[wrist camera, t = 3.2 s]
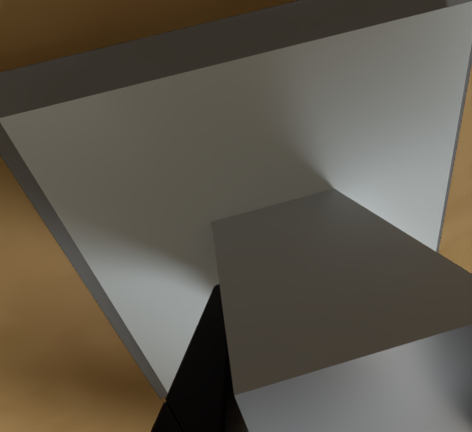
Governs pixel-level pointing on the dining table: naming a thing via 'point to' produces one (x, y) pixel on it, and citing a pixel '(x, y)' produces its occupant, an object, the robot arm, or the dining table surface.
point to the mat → (171, 63)
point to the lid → (284, 221)
